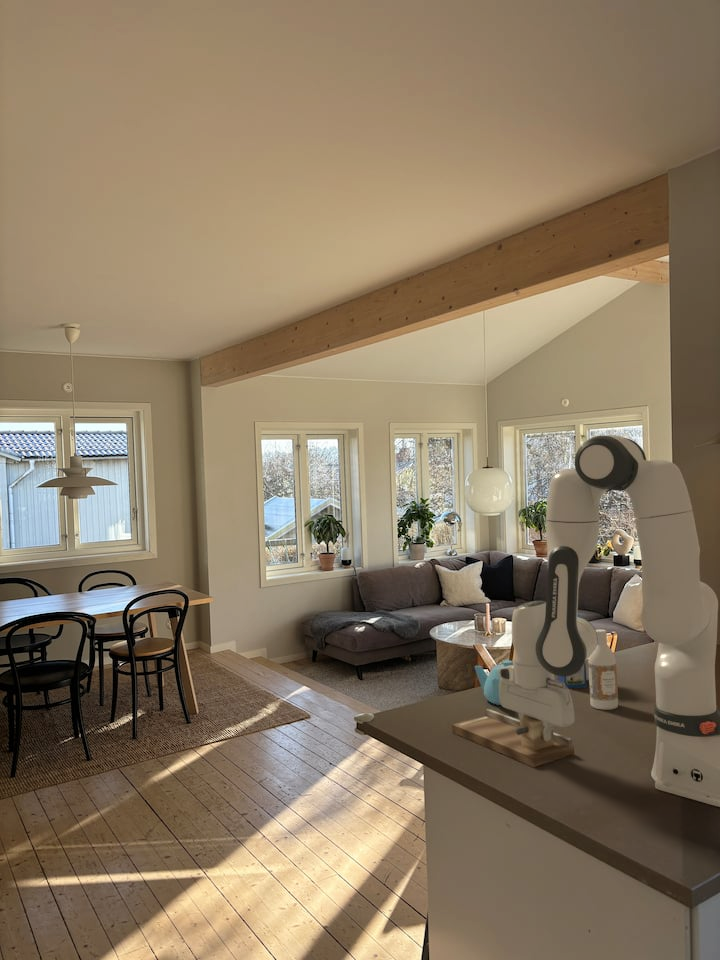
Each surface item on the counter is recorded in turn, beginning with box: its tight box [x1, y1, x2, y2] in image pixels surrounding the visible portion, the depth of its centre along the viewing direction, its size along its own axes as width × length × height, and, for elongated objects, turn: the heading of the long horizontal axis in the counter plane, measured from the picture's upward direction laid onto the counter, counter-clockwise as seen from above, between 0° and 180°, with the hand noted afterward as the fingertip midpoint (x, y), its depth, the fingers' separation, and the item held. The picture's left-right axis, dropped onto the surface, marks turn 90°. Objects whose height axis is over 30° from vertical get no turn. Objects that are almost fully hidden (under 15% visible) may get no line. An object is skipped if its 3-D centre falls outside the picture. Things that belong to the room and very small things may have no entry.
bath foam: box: [587, 628, 619, 711], centre depth 200 cm, size 7×7×20 cm
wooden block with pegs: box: [516, 716, 554, 751], centre depth 169 cm, size 4×11×6 cm, turn 121°
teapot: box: [474, 659, 513, 707], centre depth 209 cm, size 15×15×11 cm
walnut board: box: [451, 708, 575, 768], centre depth 176 cm, size 28×12×4 cm, turn 31°
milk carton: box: [556, 612, 588, 689], centre depth 223 cm, size 10×6×20 cm, turn 178°
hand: (537, 736), depth 169 cm, fingers closed on wooden block with pegs, 4 cm apart
